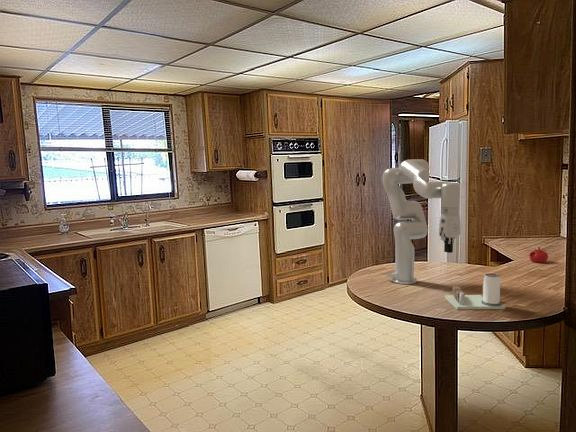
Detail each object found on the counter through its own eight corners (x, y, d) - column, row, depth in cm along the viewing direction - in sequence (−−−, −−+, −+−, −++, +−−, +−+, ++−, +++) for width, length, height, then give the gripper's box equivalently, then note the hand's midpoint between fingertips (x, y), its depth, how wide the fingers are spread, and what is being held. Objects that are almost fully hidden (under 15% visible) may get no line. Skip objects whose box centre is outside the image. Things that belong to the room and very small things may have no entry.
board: (456, 309, 184) (457, 292, 183) (444, 297, 200) (445, 282, 199) (505, 309, 183) (505, 292, 183) (489, 297, 199) (489, 281, 198)
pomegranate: (548, 261, 265) (549, 246, 264) (547, 264, 257) (548, 249, 256) (529, 259, 270) (530, 244, 269) (528, 262, 262) (529, 247, 261)
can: (480, 300, 191) (480, 273, 189) (494, 299, 191) (495, 272, 190) (487, 305, 184) (488, 277, 183) (502, 304, 185) (503, 276, 183)
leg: (463, 302, 188) (463, 293, 188) (457, 302, 189) (458, 293, 188) (457, 294, 199) (458, 286, 199) (452, 294, 200) (452, 285, 199)
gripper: (447, 213, 183) (446, 256, 186) (467, 210, 192) (465, 251, 195) (432, 211, 189) (431, 253, 192) (451, 208, 198) (450, 248, 201)
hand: (448, 252), depth 193 cm, fingers closed
